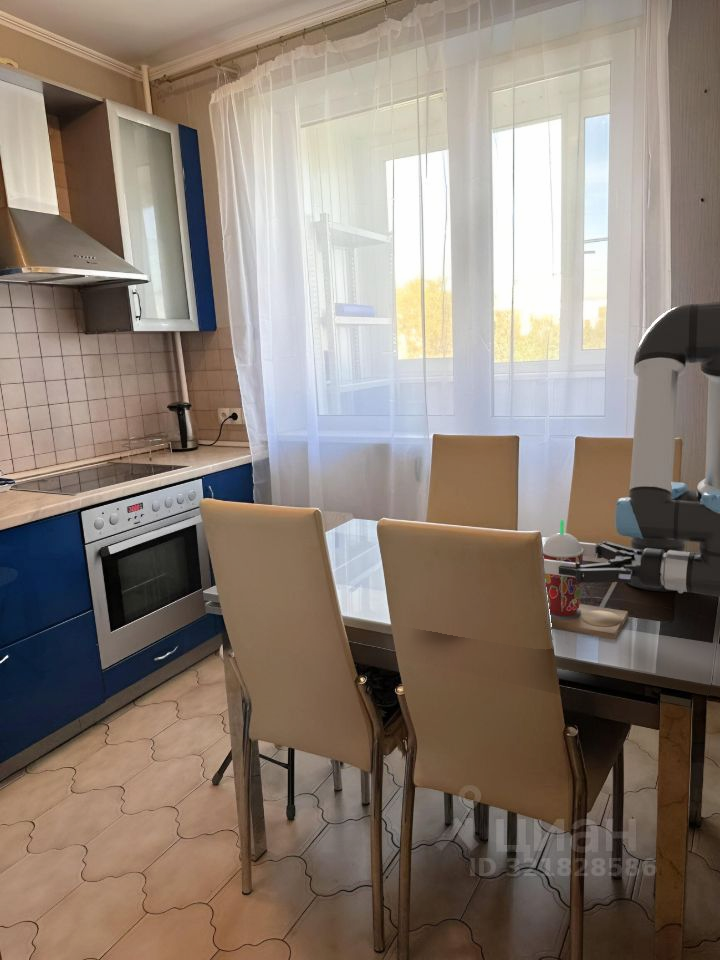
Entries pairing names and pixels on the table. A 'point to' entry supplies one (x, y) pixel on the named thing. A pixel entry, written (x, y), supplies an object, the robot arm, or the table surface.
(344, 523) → the table surface
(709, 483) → the robot arm
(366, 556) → the table surface
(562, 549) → the smoothie
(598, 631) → the coaster board
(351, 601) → the table surface
